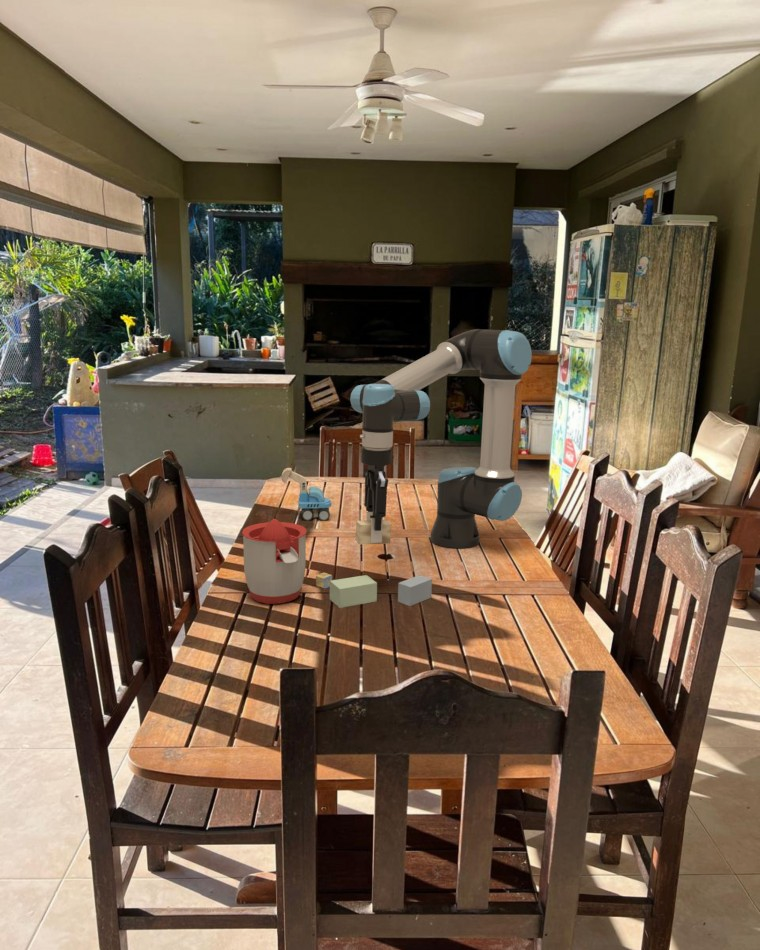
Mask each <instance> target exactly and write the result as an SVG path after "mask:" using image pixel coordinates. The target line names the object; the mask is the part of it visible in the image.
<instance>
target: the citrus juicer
mask: <svg viewBox="0 0 760 950" xmlns="http://www.w3.org/2000/svg"><path fill="white" fill-rule="evenodd" d="M307 533H308V531H307V529H306V527H304V526H302V525H300V524H297V523H292V522H286V521H285V522H284V521H279V520H278V519H276V518H272V519H271V520H270V521H268V522H262V523H261V522H260V523H255V524H251V525H249V526H247V527H245V528H243V530H242V532H241V534H242V537H243V538H242V541H243V544H242V546H243V547H242V548H243V571H244V577H245V581H246V584H247V589H248V592H249V594H250V596H251V598H252V599H253V600H255V601H256V602H259V603H263V604H266V605H273V604H283V603H289V602H292V601H294V600H296V599H297V598H298V597H299V595H300V593H301V590H302V587H303V583H304V580H305V574H306V564H307V563H306V560H307V559H306V556H307V553H306V552H307V551H306V544H307V543H306V540H307V539H306V538H307V536H306V534H307Z"/></svg>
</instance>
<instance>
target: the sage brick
mask: <svg viewBox="0 0 760 950" xmlns="http://www.w3.org/2000/svg"><path fill="white" fill-rule="evenodd" d="M329 600H330V601H331V602H332V603H333V604H335V606H337V607H338V608H339V609H342V608H346V607H351V606H358V605H363V604H368V603H374V602H375V603H376V602H377V601H378V582H377V581H375V580H374V579H372V577H370V576H368V575H367V574H365V575H364V574H363V575H358V576H352V577H346V578H339V579H332V581H330V587H329Z"/></svg>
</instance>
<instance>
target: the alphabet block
mask: <svg viewBox="0 0 760 950" xmlns="http://www.w3.org/2000/svg"><path fill="white" fill-rule="evenodd" d="M332 580H333V575H332V574H329V573H327V572H321V573H319V574H316V576H315V585H316V586H315V587H318V588H322V589H328V588H330V581H332Z"/></svg>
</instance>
